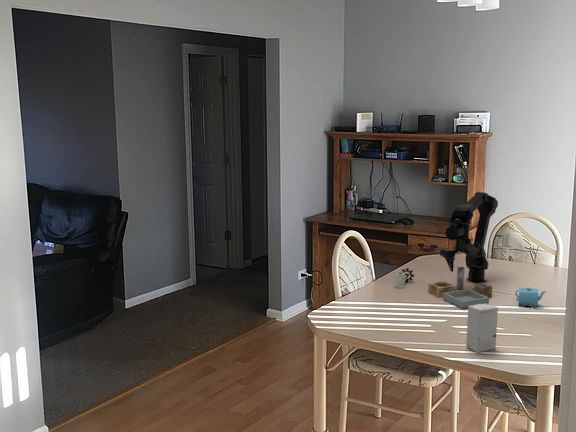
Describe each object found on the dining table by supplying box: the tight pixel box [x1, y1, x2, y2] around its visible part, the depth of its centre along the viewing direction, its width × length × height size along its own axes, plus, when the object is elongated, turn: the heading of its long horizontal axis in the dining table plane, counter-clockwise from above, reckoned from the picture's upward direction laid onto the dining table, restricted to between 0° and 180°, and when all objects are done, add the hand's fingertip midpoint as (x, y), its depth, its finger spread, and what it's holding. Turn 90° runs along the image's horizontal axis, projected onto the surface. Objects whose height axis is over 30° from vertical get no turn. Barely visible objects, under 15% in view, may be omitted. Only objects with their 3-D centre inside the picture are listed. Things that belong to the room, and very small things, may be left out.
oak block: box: [427, 280, 456, 298], centre depth 274 cm, size 8×8×4 cm
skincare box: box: [465, 303, 499, 353], centre depth 215 cm, size 8×6×15 cm
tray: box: [442, 288, 490, 310], centre depth 263 cm, size 13×13×3 cm
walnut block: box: [474, 282, 493, 299], centre depth 270 cm, size 5×5×5 cm
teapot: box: [514, 286, 548, 309], centre depth 258 cm, size 12×6×8 cm, turn 70°
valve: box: [395, 267, 415, 289], centre depth 287 cm, size 7×7×12 cm
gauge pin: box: [455, 266, 465, 291], centre depth 279 cm, size 3×3×10 cm
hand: (460, 270), depth 279 cm, fingers open, 9 cm apart
